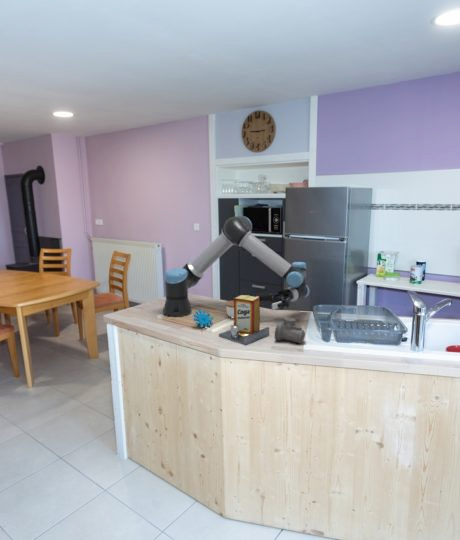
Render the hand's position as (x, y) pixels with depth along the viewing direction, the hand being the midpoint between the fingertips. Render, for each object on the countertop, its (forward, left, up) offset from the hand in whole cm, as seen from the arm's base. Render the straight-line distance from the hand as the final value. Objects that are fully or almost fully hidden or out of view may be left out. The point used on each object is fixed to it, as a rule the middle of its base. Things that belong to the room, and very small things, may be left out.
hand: (260, 304), depth 179 cm
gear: (-23, -14, -12) cm, 30 cm away
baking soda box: (0, -10, -11) cm, 14 cm away
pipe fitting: (+19, -4, -12) cm, 23 cm away
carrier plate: (0, -12, -12) cm, 17 cm away
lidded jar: (-21, +6, -12) cm, 25 cm away
